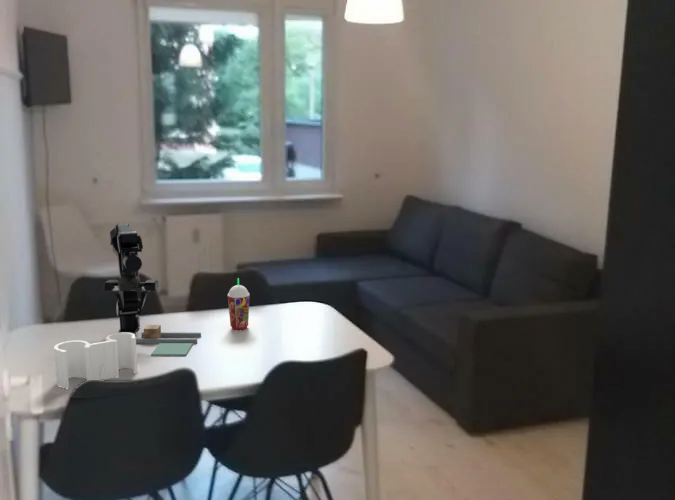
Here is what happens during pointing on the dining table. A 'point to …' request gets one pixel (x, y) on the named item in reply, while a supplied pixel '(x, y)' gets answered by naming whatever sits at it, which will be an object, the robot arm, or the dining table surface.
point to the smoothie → (238, 307)
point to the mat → (172, 349)
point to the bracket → (95, 358)
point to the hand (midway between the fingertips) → (132, 308)
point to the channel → (171, 340)
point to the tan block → (152, 331)
